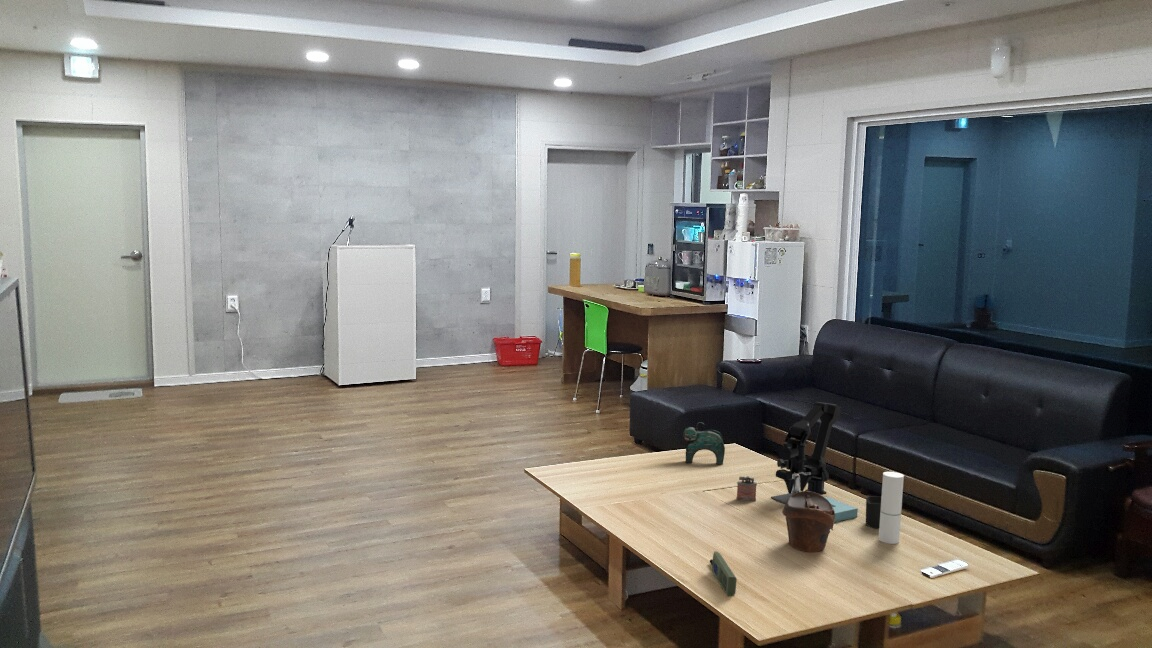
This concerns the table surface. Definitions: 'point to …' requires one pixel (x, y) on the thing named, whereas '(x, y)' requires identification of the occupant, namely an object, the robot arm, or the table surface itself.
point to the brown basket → (808, 520)
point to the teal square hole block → (842, 510)
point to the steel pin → (796, 484)
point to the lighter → (746, 489)
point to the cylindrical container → (891, 507)
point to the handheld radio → (723, 574)
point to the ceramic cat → (703, 443)
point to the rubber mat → (782, 497)
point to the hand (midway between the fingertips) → (795, 492)
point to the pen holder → (873, 511)
